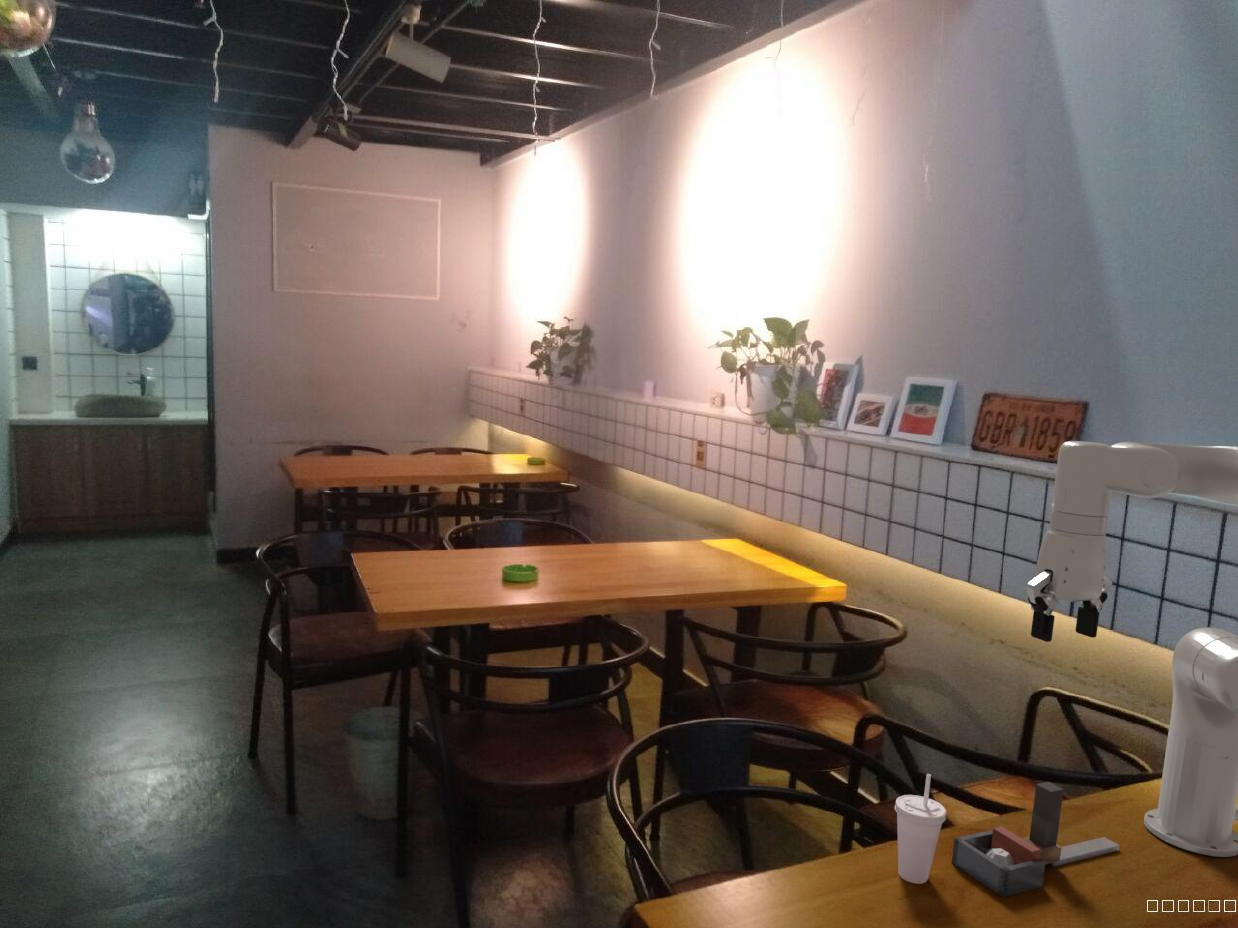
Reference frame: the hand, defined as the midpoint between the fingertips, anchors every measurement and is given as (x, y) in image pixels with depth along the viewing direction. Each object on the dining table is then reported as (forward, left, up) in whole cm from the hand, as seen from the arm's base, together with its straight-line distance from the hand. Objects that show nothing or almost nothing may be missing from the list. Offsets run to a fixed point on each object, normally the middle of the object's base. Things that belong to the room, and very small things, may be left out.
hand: (1063, 636), depth 137 cm
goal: (+20, +10, -28) cm, 36 cm away
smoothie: (+32, +7, -28) cm, 43 cm away
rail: (+4, +10, -28) cm, 30 cm away
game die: (+20, +10, -29) cm, 36 cm away
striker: (+15, +10, -27) cm, 32 cm away
